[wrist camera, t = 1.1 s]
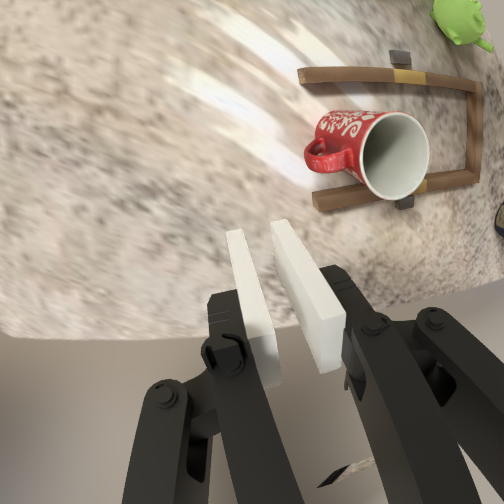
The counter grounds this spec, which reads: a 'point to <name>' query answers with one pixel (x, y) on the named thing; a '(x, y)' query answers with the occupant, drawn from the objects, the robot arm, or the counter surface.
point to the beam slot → (372, 74)
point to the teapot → (461, 21)
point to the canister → (500, 221)
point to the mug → (372, 150)
